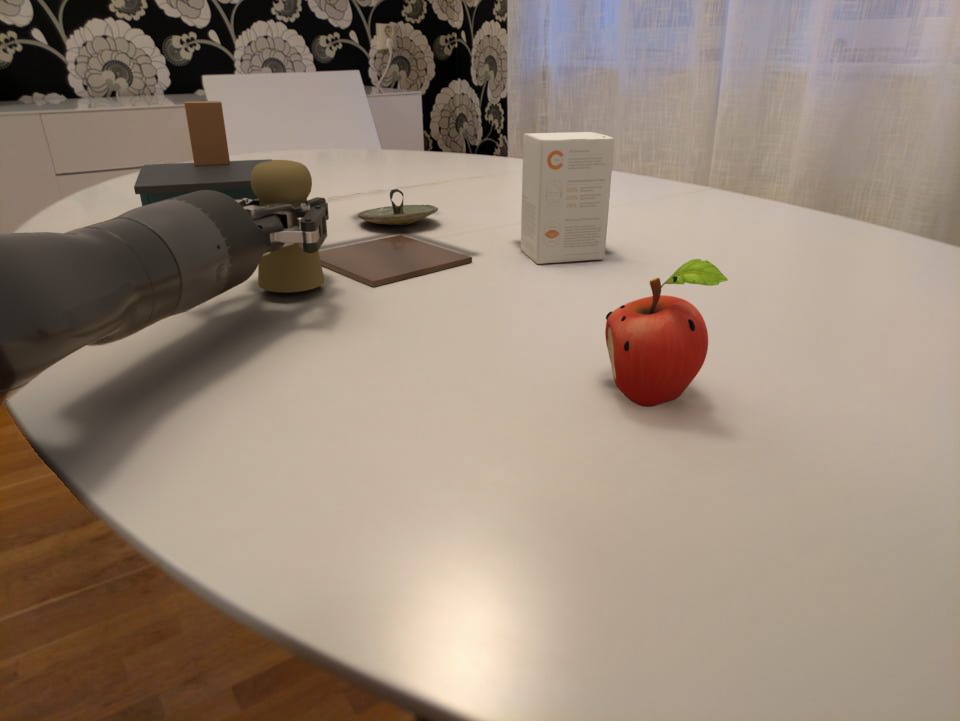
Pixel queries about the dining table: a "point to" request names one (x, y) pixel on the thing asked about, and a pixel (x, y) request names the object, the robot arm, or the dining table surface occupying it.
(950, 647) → the dining table surface
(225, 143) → the bin lid
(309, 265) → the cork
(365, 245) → the board
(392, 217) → the lid
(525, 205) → the small box
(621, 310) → the apple
